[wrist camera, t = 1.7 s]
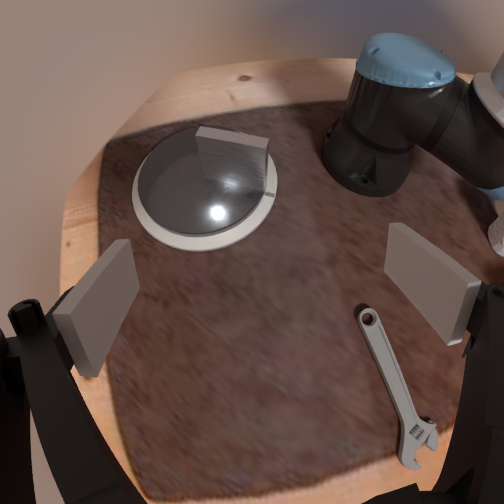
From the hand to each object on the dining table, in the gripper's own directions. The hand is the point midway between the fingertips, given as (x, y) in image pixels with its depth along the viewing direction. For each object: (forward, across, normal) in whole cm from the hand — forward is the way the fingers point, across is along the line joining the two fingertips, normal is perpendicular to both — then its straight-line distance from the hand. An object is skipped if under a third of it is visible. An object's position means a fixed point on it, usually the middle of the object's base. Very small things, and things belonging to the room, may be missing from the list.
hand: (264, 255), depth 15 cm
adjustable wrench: (+10, +19, -26) cm, 33 cm away
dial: (+32, -6, -1) cm, 32 cm away
